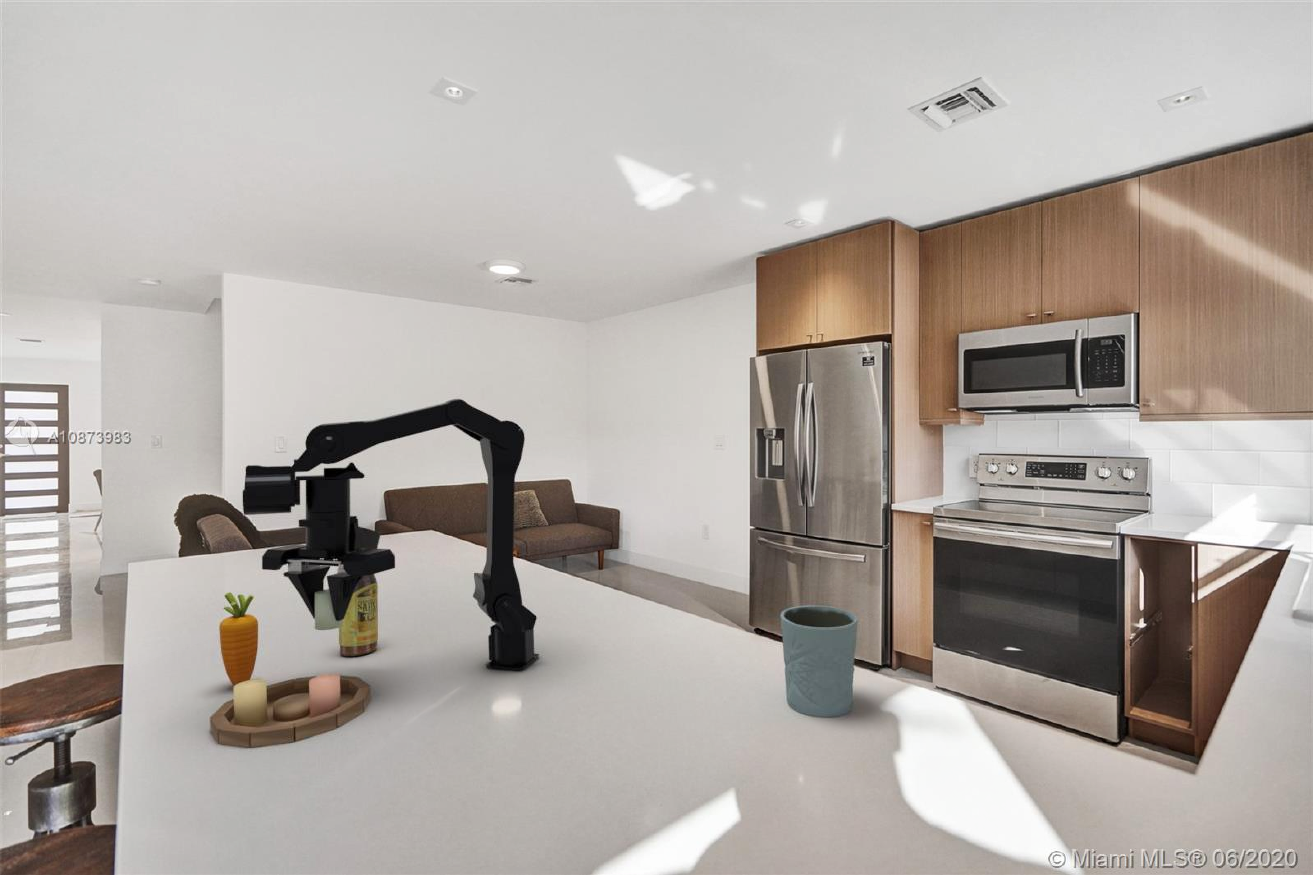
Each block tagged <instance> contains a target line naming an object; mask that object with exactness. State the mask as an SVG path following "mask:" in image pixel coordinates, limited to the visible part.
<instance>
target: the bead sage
mask: <svg viewBox="0 0 1313 875" xmlns="http://www.w3.org/2000/svg"><path fill="white" fill-rule="evenodd" d="M341 626H343V620H341V621H336V619H335V615H334V612H333V607H332V602H331V597H330V592H329V588H328V589H327V588H326V589H323V590H321V591H317V592H315V619H314V629H315V630H317V631H330V630H335V629H339V627H341Z"/></svg>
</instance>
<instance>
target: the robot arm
mask: <svg viewBox="0 0 1313 875" xmlns="http://www.w3.org/2000/svg"><path fill="white" fill-rule="evenodd" d="M449 426H453V427H455V428H457V429H458V430H460V431H461V432H462V433H464V434H466V435H467V436H469V437H470V438H472V439H474V440H475V441H477V442H479V445H480V451H481V457H482V461H483V465H484V468H485V471H486V474H487V475H486V476H487V505H486V507H487V508H486V509H487V510H486V516H487V517H486V555H485V556H486V559H485V564H484V567H483V569H482V573H481V572H479V573H478V572H474V573H473V579H474V587H475V588H474V592H473V594H472V597H473V599H474V600H476V602H477V606H478V608H479V609H480V610H481V611H482V612H483V614H485V615H487V617H489V619H490V620H491V622H492V623H494V624H493V625H491V626H490V627H489V628H490V634H488V637H487V638H488V641H487V642H488V659H489V662H487V663H486V664H485V666H486V667H485V668H487V669H496V670H497V669H498V670H511V671H523V670H525V669H526V668H528V666H530V665H531V664H533V662H535V661H536V660H537V659H539V658H540V654H539V653H535V633H534V632H535V630H534V628H535V625H536V623H537V622H536V621H537V619H538V618H537V615H536V614H534V613H533V612H532V611H531V610H529V608H527V607H526V606H524V604H523V598H522V597H523V596H522V592H521V587H520V586H521V585H520V581H519V577H518V574H517V570H516V568H515V564H514V552H515V551H514V550H515V549H514V546H515V545H514V544H515V541H514V540H515V494H516V493H515V485H516V484H515V481H516V480H515V479H516V474H517V471H518V470H519V466H520V463H521V461H522V456H523V451H524V445H525V441H526V440H525V437H526V436H525V433H524V430H523V429H522V427H521V426H519V424H517V423H516V422H514V421H513V420H512V421H511V420H500V419H498V418H497V417H495V416H493V415H491V414H489V413H487V412H484V411H483V410H480V409H478V408H476V407H475V406H473V405H470V404H469V403H467V402H466V401H464V400H463V399H461V398H453V399H450V400H447V401H445V402H443V403H440V404H435V405H431V406H426V407H422V408H418V409H413V410H410V411H405V412H401V413H398V414H393V415H390V416H385V417H381V418H377V419H373V420H372V419H370V420H361V421H359V420H358V421H356V420H355V421H344V422H341V421H340V422H330V423H322V424H319V425H317V426H315V427H314V428H312V429H311V430H310V431H309V433H308V434H307V436H306V439H305V442H304V444H305V450H304V451H303V452H302V454H301V455H300V456H299V457H298V458H295V459H293V464H292V465H277V466H276V465H273V466H272V465H270V466H269V465H268V466H266V465H264V466H263V465H259V464H258V465H257V464H253V465H251V464H249V465H247V466H245V477H244V489H242V512H243V516H253V515H270V514H271V515H272V514H291V513H292V508H293V507H296V506H300V505H301V481H305V518H303V519H299V520H298V528H305V544H288V545H283V546H279V547H278V546H277V547H273V548H267V549H266V551H265V552H264V553H263V555H262V557H261V560H262V561H261V570H265V571H267V570H268V571H279V570H281V568H283V566H285V565H287V571H285V572H283V577H285V578H288V579H289V581H290V582H291V584H292V585H293V586H294V588H295V590H296V591H297V592H298V595H299V597H301V599H302V601H303V602H304V605H305V606H306V608H307V609H308V611H309V613H310V614H311V617H312V619H314V620H315V592H317V591H321V590H325V589H324V586H325V581H324V580H325V578H326V580H327V586H328V589H329V592H330V597H331V602H332V607H333V612H334V615H335V619H336V621H341V620H343V619H344V617H345V614H346V611H347V609H348V606H349V603H350V601H351V598H352V595H353V593H354V590H355V588H356V586H357V584H358V582H359V581H360V580H361V579H362V578H363V576H366V575H372V574H374V575H376V574H378V573H382V572H386V571H389V570H393V569H396V556H395V553H394V552H393V551H392V550H391V549H390V548H378V547H379V544H380V539H381V535H382V534H381V532H379V531H375V530H373V529H370V528H366V527H362V526H359V519H358V518H357V517H358V516H356V515H351V480H358V479H360V480H361V479H363V478H365V474H364V473H363V472H361V471H360V469H358V468H357V466H356V465H355V463H354V462H353V461H350V462H349V463H348V465H347V466H345V467H324V468H323V474H320V475H319V474H318V475H317V474H315V475H296V473H306V472H310V471H312V470H314V469H315V468H316V467H318V466H320V465H323V464H324V465H331V464H336V463H339V462H342V461H344V460H346V459H349V458H350V457H352V456H355V455H357V454H360V453H362V452H364V451H366V450H368V449H370V448H372V447H374V446H376V445H379V444H383V443H387V442H390V441H394V440H398V439H401V438H402V439H403V438H406V437H409V436H413V435H417V434H421V433H426V432H429V431H433V430H437V429H440V428H444V427H449ZM350 552H352V553H350ZM331 567H338V568H337V573H333V574H329V575H328V572H329V571H330V569H331Z"/></svg>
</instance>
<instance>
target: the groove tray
mask: <svg viewBox="0 0 1313 875" xmlns="http://www.w3.org/2000/svg"><path fill="white" fill-rule="evenodd" d="M339 675H340V700H341V706H340V707H338V708H337V709H335V710H333V711H331V712H329V713H326V714H323V715H319V716H316V717H313V718H310V696H309V681H310V680H311V679H312V678H314V677H317V676H318V675H315V676H307V677H306V676H305V677H295V678H292V679H288V680H284V681H280V682H276V683H271V684H269V685H266V691H267V721H266V722H264V723H263V724H261V725H258V726H256V727H246V726H238V725H234V698H232V699H230V700H227V701H226V702H224V703H223V704H222V705H221V706H220V707H219V708H218V709H217V710H216V711H215V712H214V713H213V714H212V715H211V716H210V717H209V724H210V725H209V726H210V727H209V728H210V733H211V735H212V736H213V738H214V739H215V741H216V742H217V743H218V744H219V745H227V746H232V747H240V748H242V747H243V748H257V747H266V746H274V745H275V746H276V745H282V744H286V743H287V744H288V743H294V742H298V741H301V740H304V739H308V738H311V737H315V736H319V735H320V734H324V733H326V732H329V731H333V730H336V729H338V728H339V727H341V726H343V725H344V724H346V723H348V722H350V721H352V720H353V719H354V718H356V717H358V716H359V715H361V714H363V713H364V712H365V710H366V709H367V707H368V704H369V702H370V700H371V696H372V695H371V685H370V684H369V683H367V682H366V681H364V680H363V679H362V678H360V677H359V676H350V675H341V674H339Z"/></svg>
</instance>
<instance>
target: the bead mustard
mask: <svg viewBox="0 0 1313 875" xmlns="http://www.w3.org/2000/svg"><path fill="white" fill-rule="evenodd" d="M266 686H267V680H266V679H264V678H255V679H250V680H247V681H244V682H241V683H238V684H236V685H235V686H233V689H232V690H233V699H234V725H238V726H246V727H256V726H258V725H261V724H263V723H264V722H266V721H267V691H266Z"/></svg>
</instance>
